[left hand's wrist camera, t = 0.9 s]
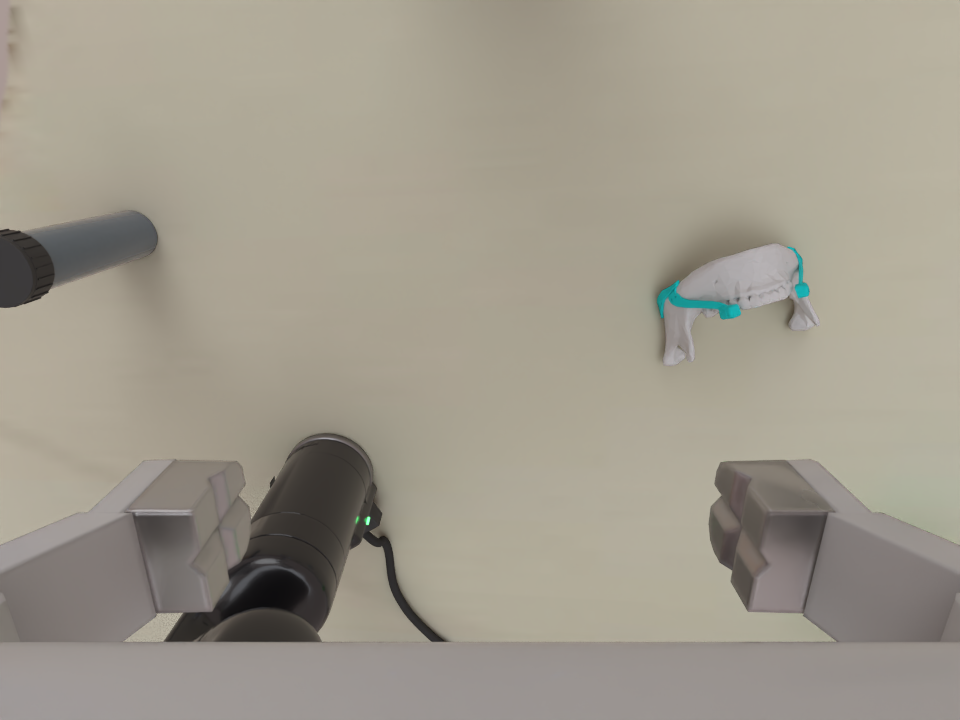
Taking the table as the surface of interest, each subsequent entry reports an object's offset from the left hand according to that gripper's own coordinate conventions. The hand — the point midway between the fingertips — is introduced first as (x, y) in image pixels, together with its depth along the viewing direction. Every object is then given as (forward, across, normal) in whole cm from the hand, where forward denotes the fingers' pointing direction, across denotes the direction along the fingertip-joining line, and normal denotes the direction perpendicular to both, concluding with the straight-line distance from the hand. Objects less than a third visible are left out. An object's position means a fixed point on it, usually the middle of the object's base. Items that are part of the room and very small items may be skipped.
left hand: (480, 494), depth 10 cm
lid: (+31, +33, +3) cm, 45 cm away
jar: (+48, +33, +3) cm, 58 cm away
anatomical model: (+48, -24, +8) cm, 54 cm away
